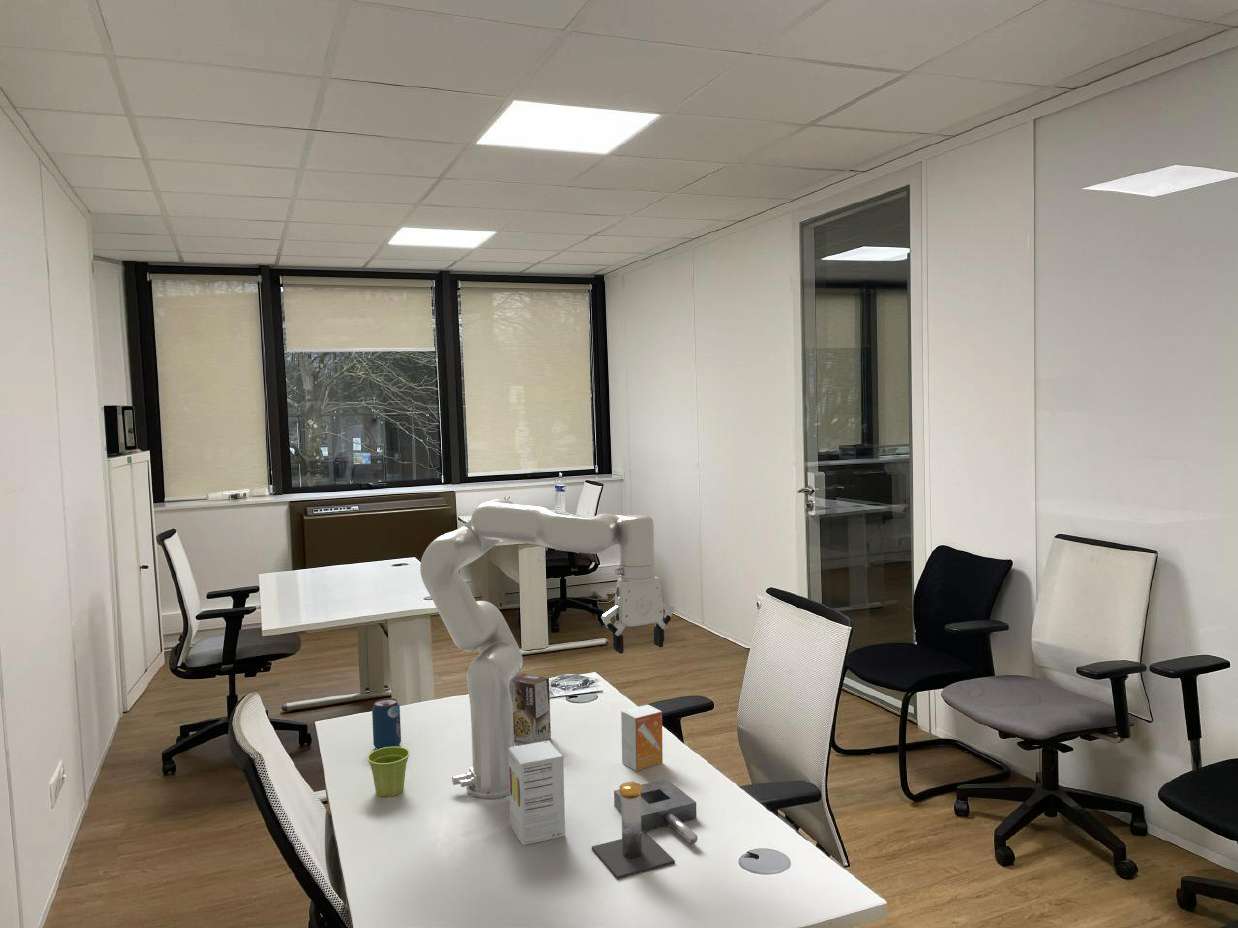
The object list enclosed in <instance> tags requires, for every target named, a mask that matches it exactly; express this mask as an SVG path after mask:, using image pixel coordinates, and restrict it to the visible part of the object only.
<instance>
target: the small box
mask: <svg viewBox="0 0 1238 928" xmlns="http://www.w3.org/2000/svg"><path fill="white" fill-rule="evenodd" d="M620 713H621V715H620V717H621V718H620V719H621V723H620V724H621V763H622V764H624V765H625V766H627V767H628V768H630V769H632V770H634V771H635V772H637V771H640V770H643V769H646V768H650V767H654V766H657V765H661V764H663V762H664V761H663V712H662V710H660V709H658V708H656V707H654V706H652V705H650V704H645V705H641V706H637V707H636V706H635V707H631V708H630V709H629V708H628V709H625V710H621V711H620Z"/></svg>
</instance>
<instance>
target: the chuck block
mask: <svg viewBox="0 0 1238 928" xmlns="http://www.w3.org/2000/svg"><path fill="white" fill-rule="evenodd" d="M640 785H641V789H642V793H641V828H642V833H647V832H649V831H653V830H658V829H662V828H664V827H669V826H670V827H671V828H672V829H674V830H675V831H676V832H677V833H679V835H680V836H682V838H683V839H685V840H686V841H687V842H688V843H689V844H690V845H694V844H695V843H697V841H698V835H697V833H695V832H694V831H693V830H692V829H690V828H689V827H688V826H687V825H686V824H685V822H689V821H692V820H696V819H697V816H698V815H697V802H696V801H695V800H694V799H693V798H692V797H690V796H689V794H687V793H686V792H684V790H682V789H681V788H680V787H678V786H677V785H676V784H674V783H673V782H672V781H671V780H669V779H668V778H664V779H661V780H660V779H659V780H655V781H651V782H647V783H642V784H640ZM613 796H614V797H613V802H614V803H613V804H614V808H615V809H616V810H617V811H618V812H619V813H621V795H620V788H619V789H616V790H614V791H613Z"/></svg>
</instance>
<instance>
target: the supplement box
mask: <svg viewBox="0 0 1238 928" xmlns="http://www.w3.org/2000/svg"><path fill="white" fill-rule="evenodd" d="M508 758H509V793H510V795H509V823H510V824H509V825H510V827H511V828H512V830H513V832H514V834H515V835H516V837H517V839H518V840H519V842H520V843H521V846H527V845H531V844H536V843H540V841H541V842H544V841H549V840H553V839H557V838H563V837H565V836H566V822H565V821H566V819H565V817H566V816H565V814H566V813H565V776H564V775H565V773H564V772H565V771H564V768H565V767H564V756H563V754H562V753H561V752H560V751H559V750H558V749H557V748H556V747H555V746H554V744H553V743H552V742H551V740H546V741H543V742H537V743H531V744H530V743H526V744H521V745H514V747H510V748H508Z"/></svg>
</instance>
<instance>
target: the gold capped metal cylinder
mask: <svg viewBox="0 0 1238 928" xmlns="http://www.w3.org/2000/svg"><path fill="white" fill-rule="evenodd" d="M619 789H620V795H621V812H620V815H621V818H620V819H621V839H622V854H623V856H624V857H626V858H630V859H634V858H638V857H640V856H641V855H642V834H643V832H642V828H641V793H642V789H641V784H640V783H639V782H636V781H626V782H623V783H621V784H620V785H619Z"/></svg>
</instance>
